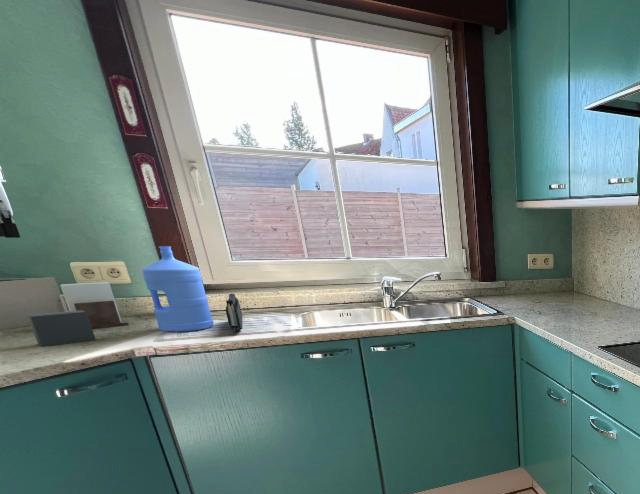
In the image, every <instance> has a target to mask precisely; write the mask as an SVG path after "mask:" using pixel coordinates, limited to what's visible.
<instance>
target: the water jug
mask: <svg viewBox="0 0 640 494" xmlns="http://www.w3.org/2000/svg"><path fill="white" fill-rule="evenodd" d="M158 248H159V250H160V251H159V252H160V255H161V259H159V260H158V261H155V262H153V263H151V264H149V265H147V266H144V267H143V268H142V269H141V272H142V277H143V280H144V282H145V285H146V288H147V290H149V293H150V296H151V300H152V303H153V306H154V309H153V311H154V315H155V318H156V321H157V327H158V329H159V330H161V331H163V332H168V331H174V332H173V333H178V332H179V333H181V332H182V333H183V332H193V331H195V332H196V331H201V330H206V329H210V328H212V327H213V326H214V325H215V324H214V319H213V317H212V313H211V309H210V305H209V299H208V297H207V294H206V290H205V286H204V283H203V276H202V273H201V272H200V269H199V267H198V266H195V265H193V264H189V263H187V262H184V261H181V260H178V259H176V258H175V257H174V253H173V251H172V246H169V245H161V246H158ZM158 292H163V293H164V294H165V298H166V300H167V304H168V305H167V306H163V305H161V301H160V297H159V294H158Z"/></svg>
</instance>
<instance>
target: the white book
mask: <svg viewBox="0 0 640 494" xmlns="http://www.w3.org/2000/svg"><path fill="white" fill-rule="evenodd" d="M59 286H60V289H61V292H62V295H64V297H65V300H66V303H67V305H68V308H69V311H76V309H75V306H74V303H86V302H99V301H114V304H115V307H116V310H117V313H118V316H119V319H120V322H122V321H123V320H122V318H121V314H120V312H119V308H118V305H117V304H116V300H115V297H114V293H113V290H112V287H111V284H110V282H109V281H103V282H102V281H101V282H83V283H82V282H81V283H63V284H60V285H59ZM121 320H122V321H121Z"/></svg>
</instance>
